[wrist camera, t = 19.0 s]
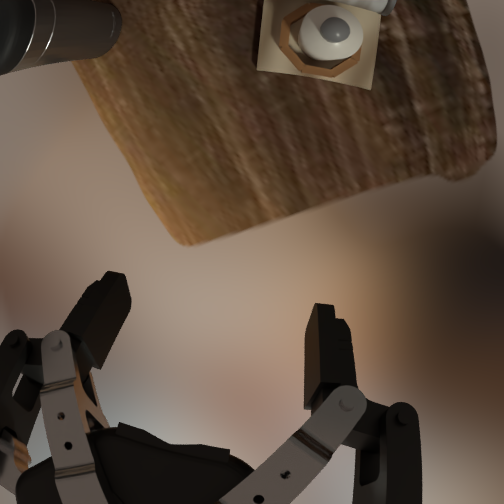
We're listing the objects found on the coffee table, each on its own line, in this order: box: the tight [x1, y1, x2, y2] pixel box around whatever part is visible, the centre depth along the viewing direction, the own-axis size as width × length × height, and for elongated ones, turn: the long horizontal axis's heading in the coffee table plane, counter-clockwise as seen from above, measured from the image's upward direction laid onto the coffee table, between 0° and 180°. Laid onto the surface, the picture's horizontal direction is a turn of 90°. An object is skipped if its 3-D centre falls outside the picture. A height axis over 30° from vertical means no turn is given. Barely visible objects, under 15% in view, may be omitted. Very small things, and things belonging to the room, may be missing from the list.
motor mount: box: [257, 0, 396, 90], centre depth 22 cm, size 15×17×8 cm
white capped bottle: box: [298, 5, 363, 61], centre depth 22 cm, size 5×5×13 cm
